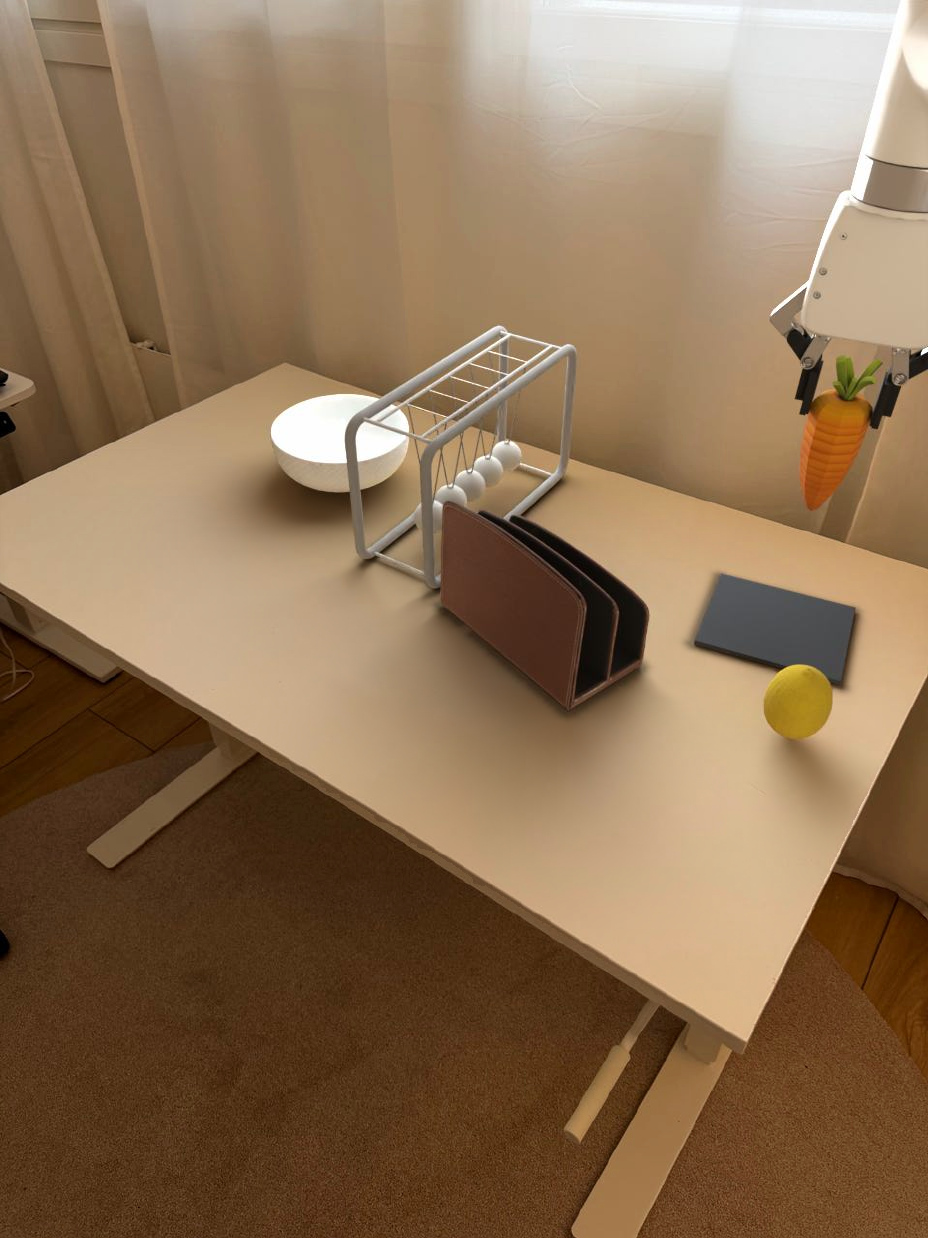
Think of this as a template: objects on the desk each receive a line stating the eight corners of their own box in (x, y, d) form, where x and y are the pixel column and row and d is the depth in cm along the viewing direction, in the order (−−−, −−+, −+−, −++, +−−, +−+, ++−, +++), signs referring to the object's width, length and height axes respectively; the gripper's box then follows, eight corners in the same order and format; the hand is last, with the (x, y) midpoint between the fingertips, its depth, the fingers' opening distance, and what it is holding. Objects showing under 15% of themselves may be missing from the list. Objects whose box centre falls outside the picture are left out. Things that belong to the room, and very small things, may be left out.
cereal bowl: (249, 486, 111) (240, 436, 107) (332, 430, 122) (327, 382, 118) (358, 527, 105) (353, 475, 100) (436, 464, 115) (435, 415, 111)
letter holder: (568, 713, 82) (581, 595, 73) (439, 605, 94) (435, 491, 85) (643, 666, 87) (664, 550, 78) (511, 568, 99) (515, 457, 89)
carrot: (840, 500, 83) (890, 346, 73) (838, 529, 79) (891, 371, 70) (784, 491, 84) (826, 338, 74) (781, 519, 81) (824, 362, 71)
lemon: (826, 726, 81) (850, 662, 76) (808, 766, 77) (833, 702, 72) (766, 702, 83) (786, 639, 78) (746, 740, 80) (766, 676, 74)
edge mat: (854, 611, 93) (855, 607, 93) (839, 685, 85) (841, 681, 85) (720, 576, 98) (721, 573, 97) (694, 644, 89) (694, 640, 89)
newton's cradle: (499, 450, 118) (503, 319, 106) (569, 473, 114) (580, 339, 102) (355, 564, 99) (340, 420, 88) (431, 598, 95) (426, 451, 83)
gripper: (1041, 183, 63) (950, 415, 75) (795, 157, 69) (746, 378, 81) (1044, 213, 58) (946, 457, 70) (778, 183, 64) (729, 414, 76)
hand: (840, 412), depth 75 cm, fingers closed on carrot, 5 cm apart
